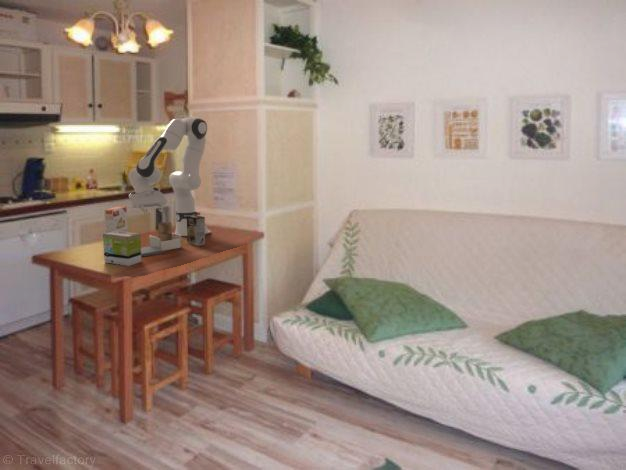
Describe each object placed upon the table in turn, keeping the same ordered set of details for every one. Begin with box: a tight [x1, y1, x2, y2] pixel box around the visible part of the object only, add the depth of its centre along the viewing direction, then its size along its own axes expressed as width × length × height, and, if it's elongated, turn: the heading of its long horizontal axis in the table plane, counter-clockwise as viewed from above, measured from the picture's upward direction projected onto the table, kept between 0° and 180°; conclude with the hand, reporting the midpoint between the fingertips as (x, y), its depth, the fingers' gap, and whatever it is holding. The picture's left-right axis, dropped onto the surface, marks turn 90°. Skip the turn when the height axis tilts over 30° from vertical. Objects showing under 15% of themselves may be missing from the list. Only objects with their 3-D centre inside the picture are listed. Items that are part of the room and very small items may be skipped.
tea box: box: [102, 231, 142, 267], centre depth 271 cm, size 15×10×15 cm
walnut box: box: [157, 221, 173, 241], centre depth 305 cm, size 6×4×14 cm, turn 135°
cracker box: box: [103, 206, 128, 234], centre depth 311 cm, size 14×6×21 cm, turn 168°
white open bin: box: [148, 232, 182, 252], centre depth 306 cm, size 13×11×7 cm
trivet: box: [141, 245, 164, 258], centre depth 293 cm, size 14×14×2 cm
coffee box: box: [186, 215, 206, 247], centre depth 315 cm, size 9×6×16 cm
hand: (153, 211), depth 310 cm, fingers open, 8 cm apart
